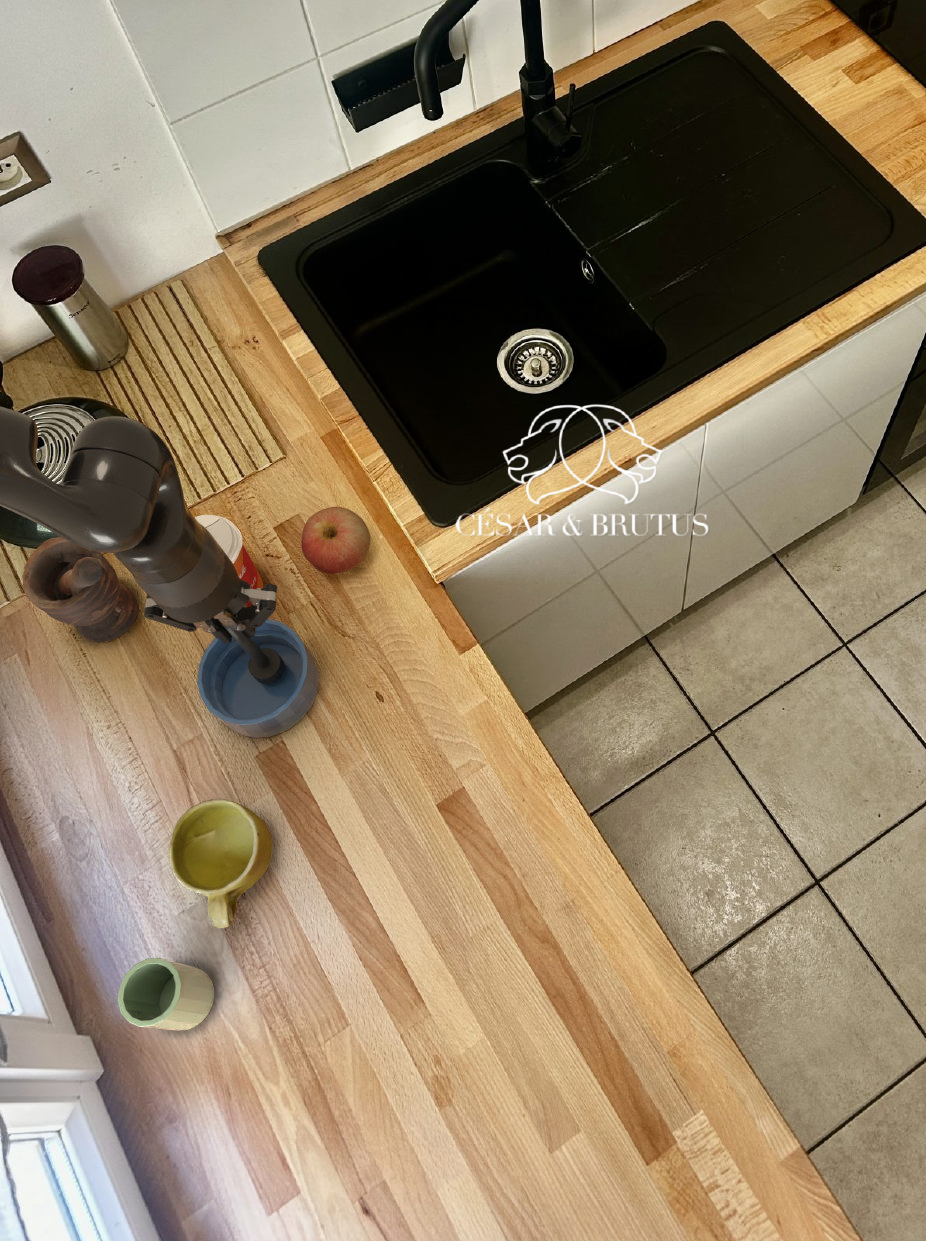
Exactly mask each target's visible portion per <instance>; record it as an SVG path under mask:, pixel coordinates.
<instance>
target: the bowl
mask: <svg viewBox="0 0 926 1241" xmlns="http://www.w3.org/2000/svg"><path fill="white" fill-rule="evenodd" d="M251 638H252V639H253V640H254V641H255V643H256V644H257V645H258V646H259V647H260V649H263V648H270V649H273V650H275V651H276V652H277V653H278V654H279V655H280V657H281V658H282V659H283V661H284V664H285V669H284V673H283V675H282V676H281V678H280V679H279V680H277V681H276V682H274V683H271V684H262V683H260V682H258V681H257V680H256V679H255V678H254V677H253V676H252V675H251V673H250V672H249V669H248V663H249V660H250V657H249V655H248V654H247V653H246V652H245V651H244V650H243V648H242V647H241V646H240V645H239V644H238V643H237V642H236V640H235V639H234V638H233V637H232V642H231V643H223V642H222V641H221V639H218V638H215V637H214V638H213V640H212V641H211V642H210V643H209V645H208V646H207V647H206V648H205V650H204V652H203V654H202V657H201V659H200V662H199V664H198V669H197V670H198V671H197V677H196V678H197V679H196V684H197V689H198V692H199V697H200V699H201V701H202V703H203V704H204V705H205V707H206V708H207V710H208V712H210V713H211V714H212V715H213V716H214V717H215V718H216V719H218V720H219V721H220V722H221V723H222V724H223V725H225V727H227V728H229V729H230V730H231V731H233V732H235V733H236V734H238V735H241V736H245V737H248V738H254V739H255V738H270V737H274V736H276V735H278V734H281V733H283V732H286V731H288V730H290V729H291V728H292V727H293V726H295V725H297V724H298V723H299V722H300V721H302V720H303V718H304V717H305V715H307V713H308V712H309V710H310V709H311V707H312V706H313V704H314V702H315V699H316V696H317V694H318V691H319V684H320V682H319V681H320V680H319V678H320V672H319V668H318V665H317V660H316V659H315V657H314V655H313V654H312V652H311V651H310V650H309V648H308V647H307V646H306V645H305V643H304V642H303V640H302V639H301V638H300V636H299V635H298V634H297V632H296V631H295V630H294V629H293V628H291V627H290V626H288V625H286V624H285V623H284V622H282V621H280V620H275V619H272V618H268V619H267V620H266V621H265V622H264V624H263V625H262V626H261V627H258V628H255V636H254V637H251Z"/></svg>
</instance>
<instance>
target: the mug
mask: <svg viewBox="0 0 926 1241" xmlns="http://www.w3.org/2000/svg"><path fill="white" fill-rule="evenodd" d="M167 850H168V852H167V853H168V863H169V865H170V870H171V871H172V874H173V876H174V878H175V879H176V880H177V881H178V882H179V884H181V885H182V886H183V887H184V888H185V889H187V890H189V891H191V892H193V893H197V894H200V895H202V896H203V897H204V896H205V897H206V898H207V914H208V917H209V920H210V922H211V925H212V926H213V927H214V928H218V929H223V928H228V927H230V926H231V925H232V924H233V923H234V920H235V918H236V913H237V910H238V907H237V906H238V905H237V904H238V899H239V898H240V897H241V896H242V895H243V894H245V892H246V891H248V890H249V889H250V888H252V887H253V886H254V885H255V884H256V883H257V882H258V881H259V880H260V879H261V878H262V877H263V876H264V874H265V873H266V872H267V870H268V868H269V866H270V863H271V861H272V855H273V838H272V833H271V831H270V828H269V827H268V825H267V823H266V821H265V820H263V818H262V817H260V816H259V814H257V813H256V812H254V811H253V810H252V809H250V808H249V807H247V806H244V805H242V804H241V803H238V802H236V801H234V800H229V799H227V798H214V799H213V798H211V799H209V800H208V799H207V800H202V801H200V802H199V803H197V804H195V805H193V806H191V807H190V808H188V809H187V810H185V812H184V813H183V814H182V815H181V816H180V817H179V819H178V820H177V822H176V823H175V825H174V827H173V829H172V832H171V834H170V837H169V843H168V849H167Z"/></svg>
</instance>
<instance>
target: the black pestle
mask: <svg viewBox="0 0 926 1241" xmlns="http://www.w3.org/2000/svg"><path fill="white" fill-rule="evenodd" d="M219 622H220V623H221V624H222V622H221V621H220V620H219ZM222 626H223V627H224V628H225V629H226V630H227V631H228V632H229V634H230V635H231V636H232V637H233V638H234V639H235V640H236V642H237V643H238V644H239V645H240V646H241V647H242V648H243V650H244V651H245V652H246V653H247V654H248V655H249V657H250V660H249V663H248V669H249V672H250V673H251V675H252V676H253V677H254V678H255V679H256V680H257V681H258V682H260V683H262V684H271V683H274V682H276V681H277V680H279V679H280V678H281V676H282V675H283V673H284V669H285V664H284V661H283V659H282V658H281V657H280V655H279V654H278V653H277V652H276V651H275V650H273V649H270V648H263V649H260V647H259V646H258V645H257V644H256V643H255V641H254V640H253V639H252V638H251V641H250V642H243V641H242V640H241V639H240V638H239V637H238V636H237V634H236V633H235V632H234V631H233V629H232V628H231V627H230V626H227V627H225V626H224V625H223V624H222Z"/></svg>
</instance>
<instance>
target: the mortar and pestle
mask: <svg viewBox="0 0 926 1241" xmlns="http://www.w3.org/2000/svg"><path fill="white" fill-rule="evenodd" d="M103 554H104V553H100V552H94V551H91V550H87V549H84V548H82V547H80V546H78V545H76V544H73V543H71V542H69V541H67V540H66V539H64V538H62V537H60V536H57V537H51V538H49V539H47V540H45V541H44V542H43V543H42V544H40V546H38V547H37V548H36V549H35V550H34V551H33V552H32V553H31V554H30V555H29V557H28V559H27V561H26V563H25V565H24V567H23V568H24V570H23V573H22V576H21V578H22V590H23V592H24V594H25V596H26V598H27V599H28V601H29V602H30V603H32V604H33V605H34V606H35V607H37V608H38V609H39V610H41V611H42V612H44V613H45V614H47V616H48V617H50V618H52V619H53V620H55V621H58V622H59V623H63V624H66V625H70V626H74V627H75V626H76V628H77V632H78V633H79V634H80V635H81V636H82V637H83V638H85V639H86V640H88V641H90V642H91V641H92V642H95V643H107V642H112V641H114V640H116V639H118V638H119V637H122V635H124V634H125V633H127V631H128V630H129V629H130V628H131V627H132V626H133V624H134V623H135V621H136V618H137V616H138V614H139V602H138V599H137V596H136V595H135V593H134V591H132V589H131V588H130V587H129V586H127V585H126V584H123V583H121V582H119V577H118V574H117V572H116V570H115V568H114V566H113V565H112V564H111V562H110V561H109V560H108V559H107V558H106V556H104V555H103Z"/></svg>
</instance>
